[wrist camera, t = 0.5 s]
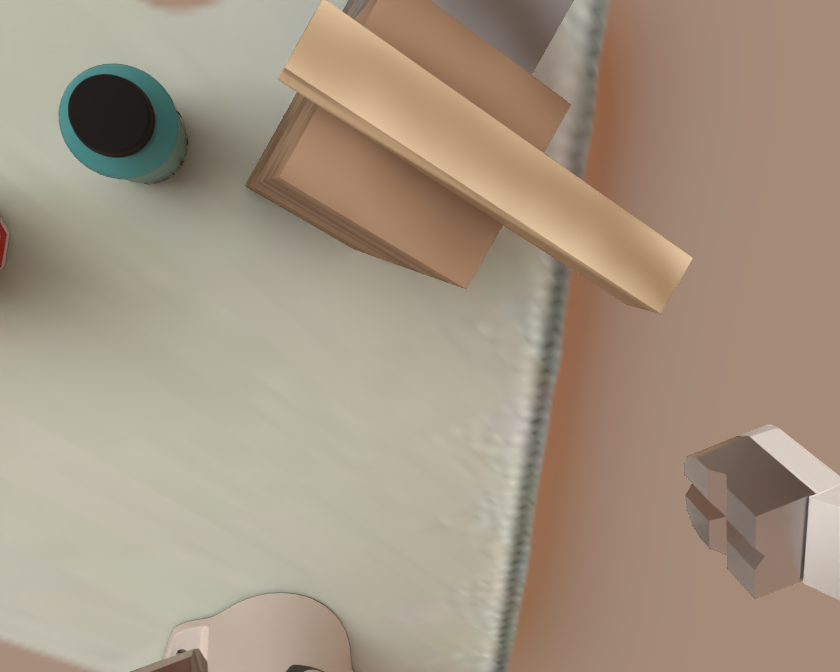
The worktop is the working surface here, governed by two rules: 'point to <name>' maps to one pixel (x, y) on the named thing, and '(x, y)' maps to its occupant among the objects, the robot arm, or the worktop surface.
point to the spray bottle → (3, 242)
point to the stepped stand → (391, 176)
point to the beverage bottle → (122, 124)
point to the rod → (479, 159)
